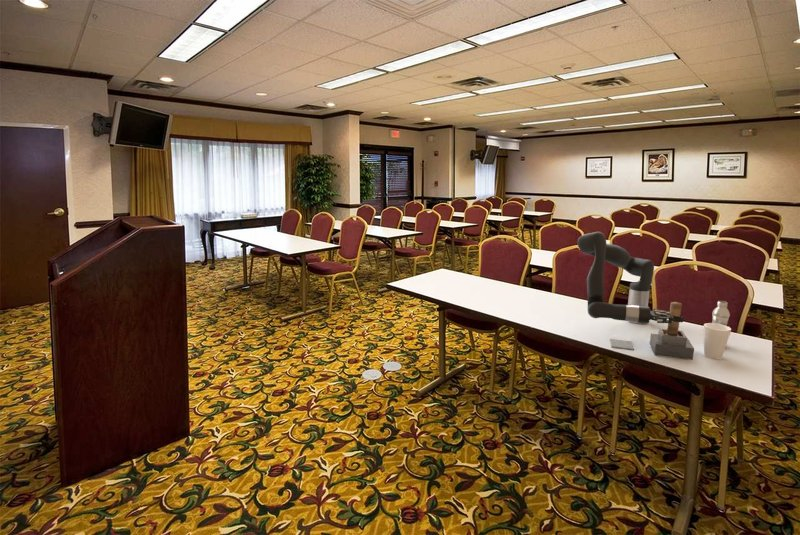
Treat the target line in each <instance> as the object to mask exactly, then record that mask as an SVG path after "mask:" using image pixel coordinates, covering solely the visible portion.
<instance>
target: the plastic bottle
mask: <svg viewBox="0 0 800 535" xmlns="http://www.w3.org/2000/svg"><path fill="white" fill-rule="evenodd" d="M716 305H717V306H716V307H714V309H713V311H712V313H711V314H712V321H711V323H715V324H721V325H725V326H727V325H728V322H729V320H730V319H729V318H730V316H731V313H730V311H729V309H728V302H727V301H724V300H718V301H717V304H716Z"/></svg>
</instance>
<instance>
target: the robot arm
mask: <svg viewBox="0 0 800 535" xmlns="http://www.w3.org/2000/svg"><path fill="white" fill-rule="evenodd" d="M577 247H578V248H579V250H580V251H581V252H582V253H583V254H586V255H589V256H591V257H594V259H593V260H594V261H593V263H592V265H591V267H590V269H589V272H588V274H587V277H586V293H587V313H588V315H589V316H590V317H591V318H593V319H600V318H603V319H604V318H605V319H612V320H615V321H622V322H629V323H633V324H641V325H642V324H649V323H650V321H654V322H656V324H668V323H672V322H679V323H684V317H683V316H682V314H681V313H680V317H677V316H669V313H670V310H669V311H668V310H662V309H657V308H653V309H652V310H651V307H650V306H649V300H650V299H649V298H650V290H651V286H652V283H653V278H654V271H655V263H654V262H653V261H652V260H651V259H646V258H640V257H633V256H631V255H630V253H629V252H628V251H627V250H626V249H625V248H624V247H621V246H619V245H617V244H610V243H607V239H606V235H605V234H604V233H603V232H602V231H595V232H589V233H586V234H585V233H584V234H582V235H580V236H579V237H578V239H577ZM606 262H607V263H608V264H611V265H612V266H615V267H617V268H621V269H623V270H625V271H626V272H627V273H629V274H630V275H632V276H636V277H640V278H639V280H638V281H633V282H631V283H630V284H629V292H628V300H627V301H628V302H627V304H618V303H617V304H616V303H608V302H604V295H605V294H604V293H605V290H604V269H605V263H606Z"/></svg>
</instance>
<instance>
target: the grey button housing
mask: <svg viewBox="0 0 800 535" xmlns="http://www.w3.org/2000/svg"><path fill="white" fill-rule="evenodd" d="M666 333H667V328H658V333H653V332H651V333H650V336H649V337H650V339H649V345H651V346H650V348H651V351H652V353H653V355H654V356H657V355H658V356H659V357H665V356H666V357H667V358H675V359H681V360H692V361H693V360H694V353H695V348H694V346H693V345H692V343H691V342H690V340H689V338H688V337H687V335H686V334H685V332H684V331H683V330H678V335H679V336H673V335H666Z"/></svg>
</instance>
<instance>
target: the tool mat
mask: <svg viewBox="0 0 800 535" xmlns="http://www.w3.org/2000/svg"><path fill="white" fill-rule="evenodd" d="M609 342H610V346H611V348H613V349H621V350H628V351H630V350H632V351H634V350H635V346H634V345H633V341H632V340H625V339H624V340H623V339H617V338H609Z"/></svg>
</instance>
